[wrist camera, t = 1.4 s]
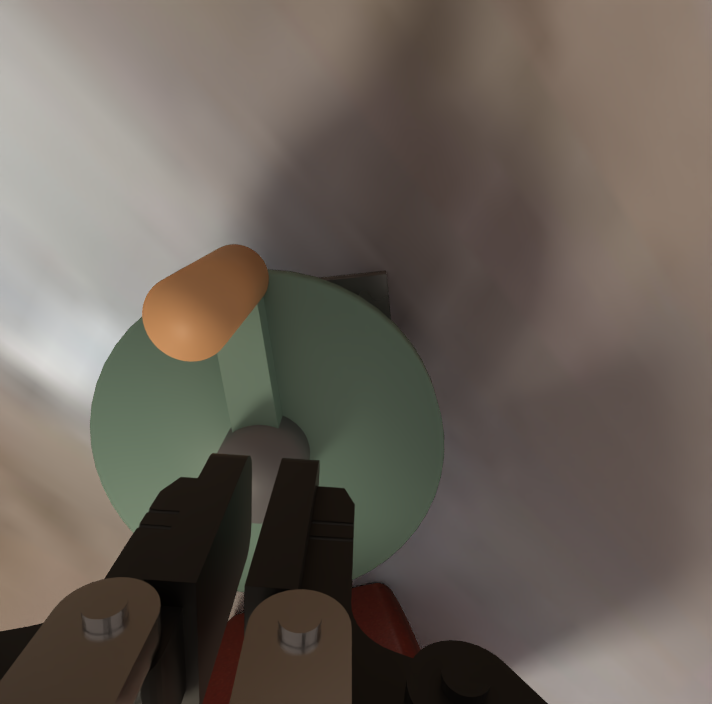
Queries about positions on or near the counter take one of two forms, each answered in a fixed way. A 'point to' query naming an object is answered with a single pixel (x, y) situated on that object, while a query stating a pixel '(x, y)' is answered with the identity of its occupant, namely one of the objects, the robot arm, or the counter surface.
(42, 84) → the counter surface
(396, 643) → the plant pot
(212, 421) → the handwheel
